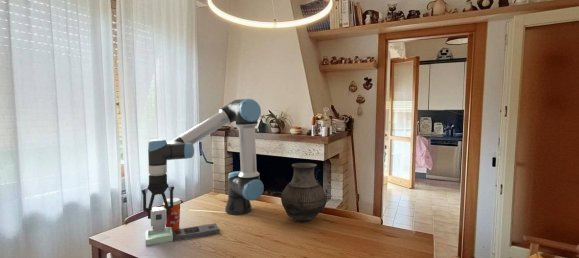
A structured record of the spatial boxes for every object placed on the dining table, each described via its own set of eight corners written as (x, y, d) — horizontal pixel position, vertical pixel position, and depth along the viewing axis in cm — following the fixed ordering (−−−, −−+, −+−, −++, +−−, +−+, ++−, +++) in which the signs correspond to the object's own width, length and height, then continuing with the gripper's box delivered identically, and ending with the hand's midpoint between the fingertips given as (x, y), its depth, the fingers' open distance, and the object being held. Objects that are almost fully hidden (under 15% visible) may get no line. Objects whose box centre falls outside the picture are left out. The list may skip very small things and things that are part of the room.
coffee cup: (175, 234, 138) (174, 203, 137) (159, 232, 139) (159, 201, 138) (184, 227, 146) (184, 197, 145) (170, 225, 147) (169, 196, 147)
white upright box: (164, 227, 136) (164, 206, 135) (165, 231, 131) (164, 209, 130) (152, 229, 133) (152, 207, 133) (152, 233, 129) (152, 211, 128)
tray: (171, 231, 140) (171, 226, 140) (173, 240, 130) (172, 235, 130) (145, 235, 135) (145, 230, 135) (145, 245, 125) (145, 239, 125)
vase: (321, 231, 141) (321, 170, 139) (273, 225, 149) (274, 167, 147) (330, 214, 165) (331, 162, 163) (289, 209, 172) (289, 159, 170)
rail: (215, 227, 146) (215, 223, 146) (219, 233, 138) (219, 228, 138) (173, 234, 137) (172, 229, 137) (174, 241, 130) (174, 236, 130)
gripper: (178, 170, 138) (179, 218, 139) (135, 173, 130) (136, 224, 132) (180, 173, 131) (180, 224, 133) (134, 177, 123) (135, 230, 125)
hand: (158, 224), depth 132 cm, fingers closed on white upright box, 5 cm apart
